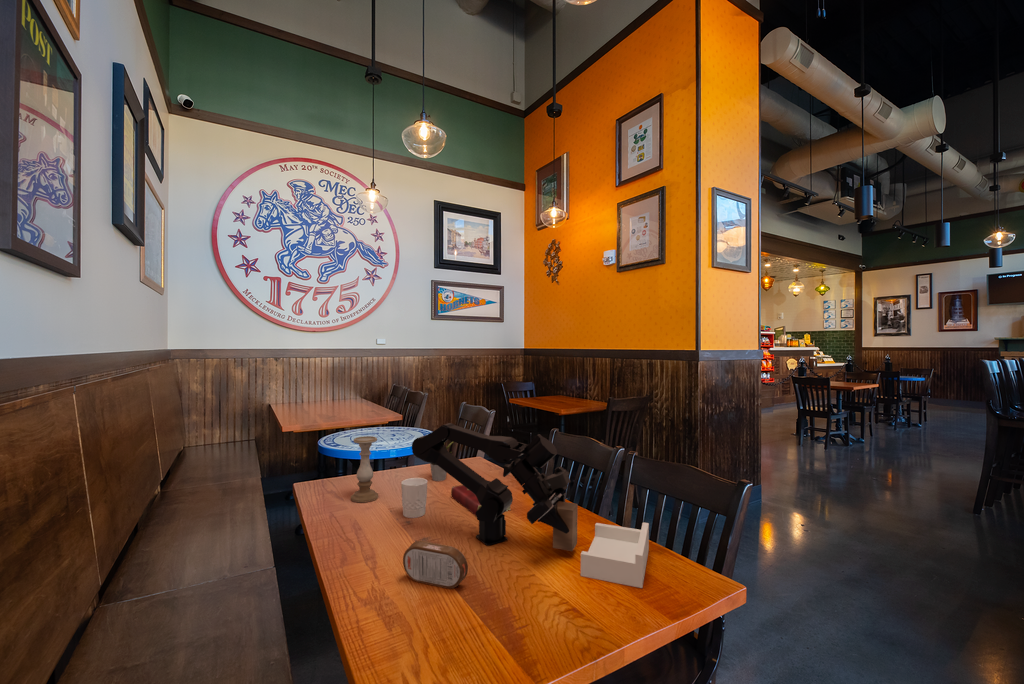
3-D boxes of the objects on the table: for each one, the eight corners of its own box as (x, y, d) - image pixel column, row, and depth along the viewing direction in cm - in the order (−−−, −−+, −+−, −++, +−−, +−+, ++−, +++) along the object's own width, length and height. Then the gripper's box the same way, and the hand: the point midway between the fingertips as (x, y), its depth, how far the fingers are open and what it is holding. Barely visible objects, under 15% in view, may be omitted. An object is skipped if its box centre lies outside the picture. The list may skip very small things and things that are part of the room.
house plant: (411, 483, 166) (411, 440, 166) (424, 473, 179) (424, 432, 179) (447, 486, 163) (448, 441, 163) (458, 475, 177) (458, 434, 177)
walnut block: (552, 547, 110) (553, 507, 110) (558, 539, 115) (558, 501, 115) (572, 551, 108) (573, 510, 108) (577, 543, 113) (577, 503, 113)
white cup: (395, 516, 134) (396, 483, 134) (410, 507, 141) (411, 476, 141) (417, 520, 131) (418, 486, 131) (432, 511, 138) (432, 479, 138)
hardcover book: (477, 519, 134) (477, 505, 134) (451, 498, 152) (451, 485, 152) (512, 512, 140) (512, 498, 140) (482, 492, 158) (482, 480, 158)
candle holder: (383, 497, 151) (384, 437, 151) (362, 504, 143) (363, 442, 143) (366, 492, 155) (367, 434, 156) (345, 499, 148) (346, 439, 148)
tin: (468, 586, 96) (468, 547, 96) (462, 593, 93) (462, 553, 93) (408, 573, 101) (408, 536, 101) (400, 580, 98) (400, 542, 98)
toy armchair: (580, 575, 100) (580, 545, 100) (595, 541, 118) (596, 515, 118) (642, 588, 95) (642, 555, 95) (648, 550, 113) (648, 523, 113)
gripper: (540, 468, 104) (585, 522, 100) (560, 451, 122) (600, 496, 118) (508, 497, 107) (551, 551, 103) (533, 476, 124) (570, 521, 120)
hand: (570, 528), depth 111 cm, fingers closed on walnut block, 5 cm apart
